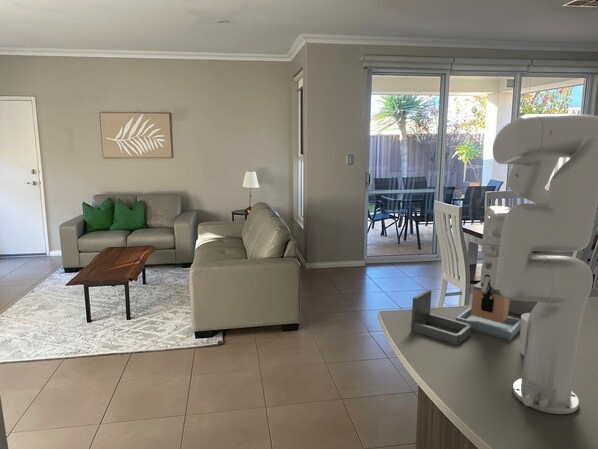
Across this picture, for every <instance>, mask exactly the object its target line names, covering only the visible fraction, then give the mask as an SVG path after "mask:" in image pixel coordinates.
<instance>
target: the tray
mask: <svg viewBox="0 0 598 449" xmlns="http://www.w3.org/2000/svg"><path fill="white" fill-rule="evenodd" d="M471 308H472V306H469V308H466V310H464V311H463V312H462V313H460V314H459V315H457V316H455V320H456V321H459V322H463V323H467V324H470V325H471V331H474V332H478V333H481V334H483V335H487V336H492V337H495V338H498V339H501V340H506V341H512V340H513V339H514V337H515V336H516V335H517V334H518V333H519V332H520V329H521V318H515V317H513V316H509V315H508V318H507V319H506V320H505V321H504V322H503V323H500V322H496V321H493V320H489V319H485V318H481V317H478V316H474V315H471Z"/></svg>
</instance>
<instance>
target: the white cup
mask: <svg viewBox="0 0 598 449" xmlns="http://www.w3.org/2000/svg"><path fill="white" fill-rule="evenodd" d="M529 315H530V313H524V314H522V315H521V316H520V319H521V329H520V331H519V332H520V333H519V334H520V335H519V339H520V340H519V342H520V344H519V345H520V348H519V353H520V355H522V356H523V357H524V352H525V343H526V334H527V325H528V319H529Z"/></svg>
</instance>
